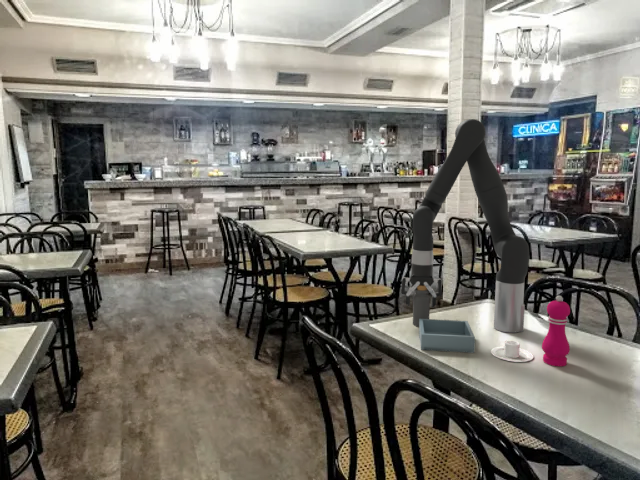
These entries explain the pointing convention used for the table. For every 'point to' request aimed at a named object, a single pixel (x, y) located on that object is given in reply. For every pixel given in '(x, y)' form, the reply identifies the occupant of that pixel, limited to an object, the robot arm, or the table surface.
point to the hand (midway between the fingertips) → (420, 306)
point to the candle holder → (512, 351)
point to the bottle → (421, 304)
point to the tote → (446, 335)
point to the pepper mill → (556, 334)
